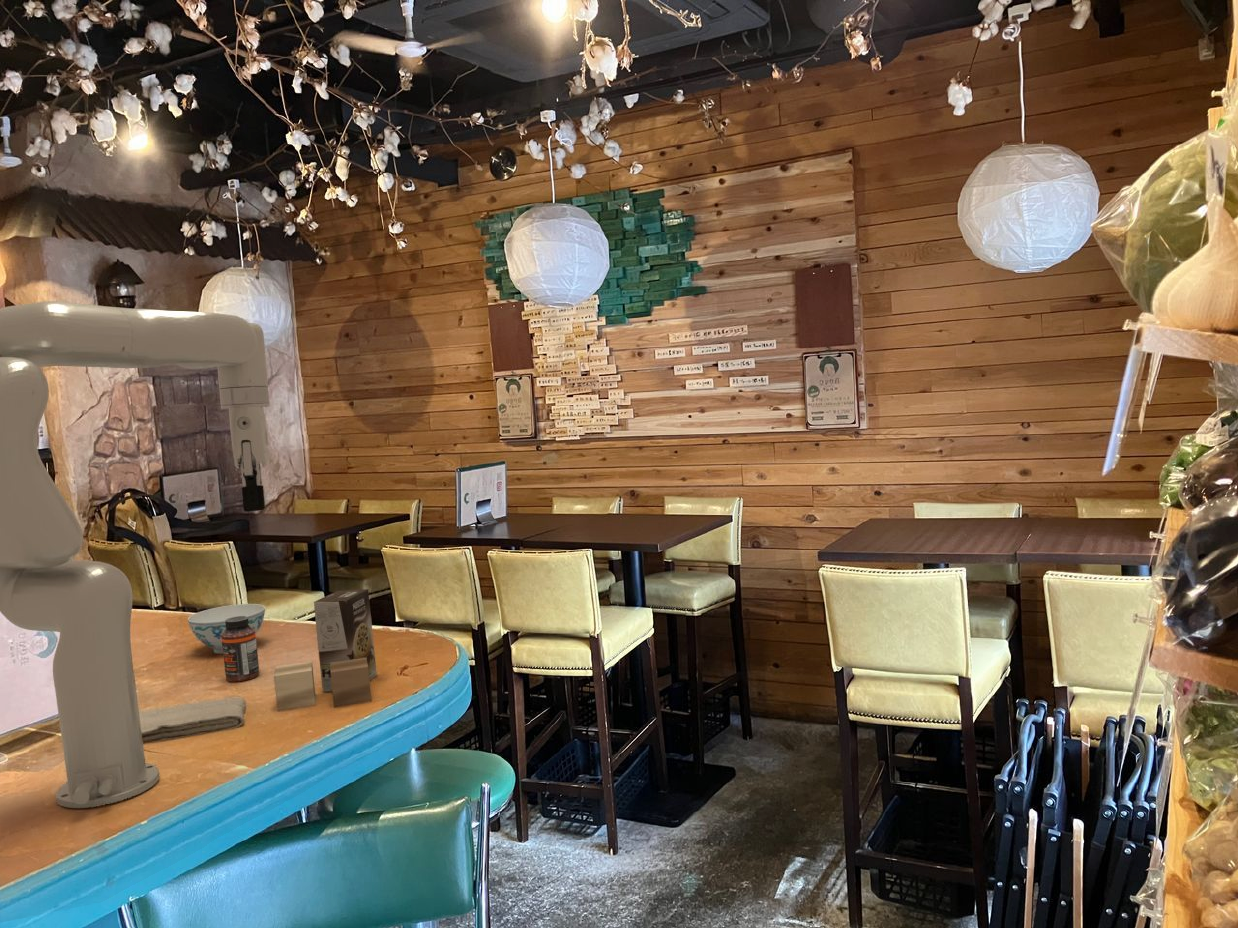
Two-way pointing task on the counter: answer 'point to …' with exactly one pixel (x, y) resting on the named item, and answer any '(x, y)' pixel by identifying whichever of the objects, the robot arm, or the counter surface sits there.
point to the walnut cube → (350, 682)
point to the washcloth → (191, 719)
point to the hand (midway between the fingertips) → (254, 510)
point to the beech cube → (294, 685)
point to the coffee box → (344, 631)
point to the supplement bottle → (239, 650)
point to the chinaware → (223, 622)
